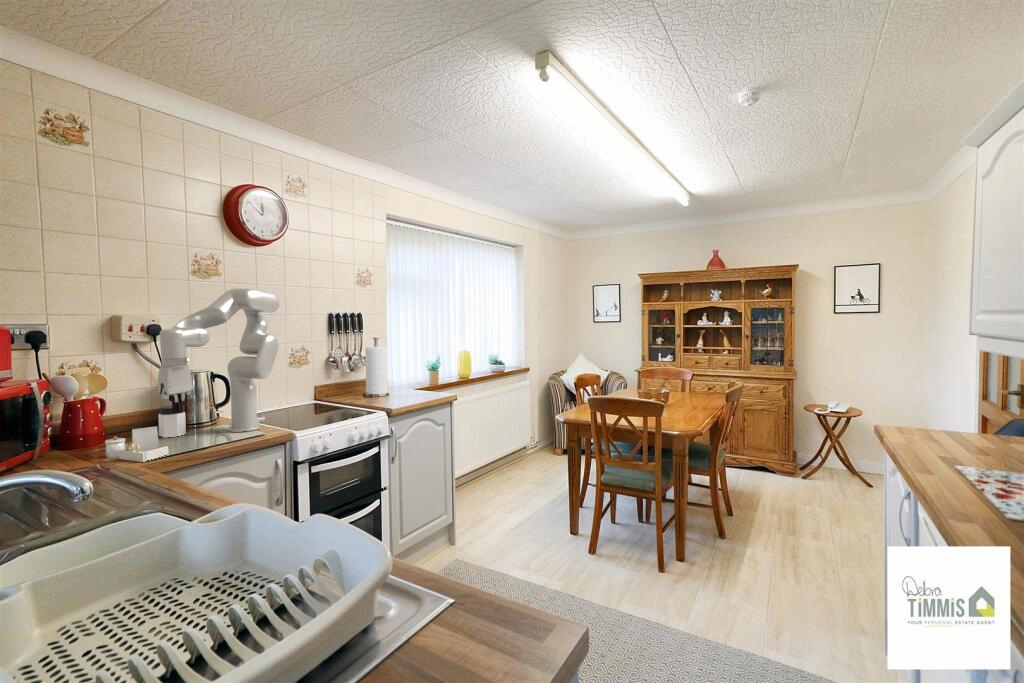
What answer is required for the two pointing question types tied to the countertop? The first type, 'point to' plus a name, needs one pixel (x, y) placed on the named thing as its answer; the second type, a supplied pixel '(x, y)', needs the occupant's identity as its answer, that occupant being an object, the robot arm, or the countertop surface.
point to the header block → (141, 453)
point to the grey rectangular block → (145, 438)
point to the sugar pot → (114, 446)
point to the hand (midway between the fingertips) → (178, 412)
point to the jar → (171, 422)
